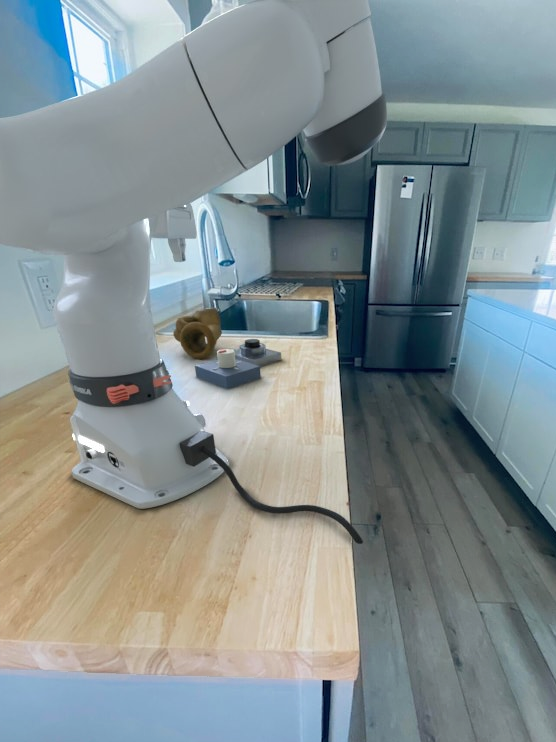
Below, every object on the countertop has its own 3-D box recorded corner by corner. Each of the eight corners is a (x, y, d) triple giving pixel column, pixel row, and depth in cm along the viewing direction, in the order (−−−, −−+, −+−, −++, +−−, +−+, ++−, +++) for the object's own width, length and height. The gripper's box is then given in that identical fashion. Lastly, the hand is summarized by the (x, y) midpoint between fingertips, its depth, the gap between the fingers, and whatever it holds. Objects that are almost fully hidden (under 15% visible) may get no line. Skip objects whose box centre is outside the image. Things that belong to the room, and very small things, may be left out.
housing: (281, 360, 102) (281, 346, 100) (254, 368, 95) (253, 353, 93) (253, 352, 109) (252, 338, 107) (225, 359, 102) (224, 345, 100)
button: (263, 346, 101) (262, 340, 100) (251, 349, 98) (251, 343, 97) (253, 344, 103) (252, 338, 102) (242, 347, 100) (241, 340, 99)
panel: (260, 378, 89) (260, 365, 87) (227, 389, 82) (225, 375, 80) (229, 368, 95) (228, 356, 94) (196, 377, 88) (194, 364, 87)
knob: (228, 362, 90) (227, 346, 88) (239, 365, 87) (237, 349, 86) (215, 365, 87) (213, 350, 85) (226, 369, 85) (224, 353, 83)
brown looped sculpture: (246, 318, 117) (219, 319, 96) (236, 356, 121) (208, 365, 101) (193, 297, 117) (154, 293, 96) (184, 336, 121) (145, 340, 101)
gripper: (171, 193, 85) (181, 259, 92) (131, 181, 67) (147, 264, 74) (198, 194, 85) (206, 259, 92) (166, 182, 67) (179, 264, 74)
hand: (180, 261), depth 83 cm, fingers closed
